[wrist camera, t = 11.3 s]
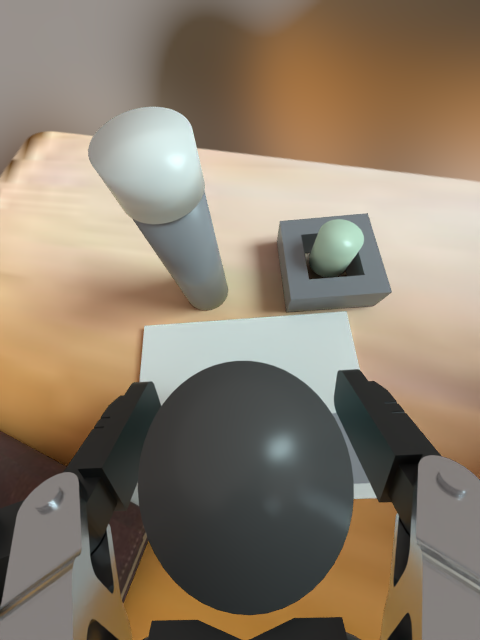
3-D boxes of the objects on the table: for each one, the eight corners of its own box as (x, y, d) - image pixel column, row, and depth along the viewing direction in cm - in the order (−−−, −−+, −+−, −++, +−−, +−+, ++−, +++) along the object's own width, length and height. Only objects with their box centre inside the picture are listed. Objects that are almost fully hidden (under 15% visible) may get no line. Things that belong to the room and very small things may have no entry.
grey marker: (228, 270, 20) (193, 101, 9) (230, 309, 19) (192, 174, 7) (186, 273, 20) (97, 112, 9) (185, 313, 19) (79, 185, 7)
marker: (275, 384, 16) (330, 354, 5) (282, 445, 15) (379, 611, 3) (222, 388, 16) (146, 366, 5) (224, 447, 15) (126, 617, 3)
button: (343, 243, 18) (358, 217, 16) (351, 275, 17) (368, 253, 15) (306, 246, 18) (314, 221, 16) (311, 278, 17) (322, 257, 15)
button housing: (354, 234, 20) (367, 213, 18) (373, 305, 18) (391, 292, 16) (276, 241, 20) (279, 221, 18) (286, 312, 18) (291, 299, 16)
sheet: (343, 314, 18) (347, 310, 17) (383, 493, 14) (390, 498, 13) (147, 328, 18) (143, 325, 18) (132, 503, 15) (127, 508, 14)
